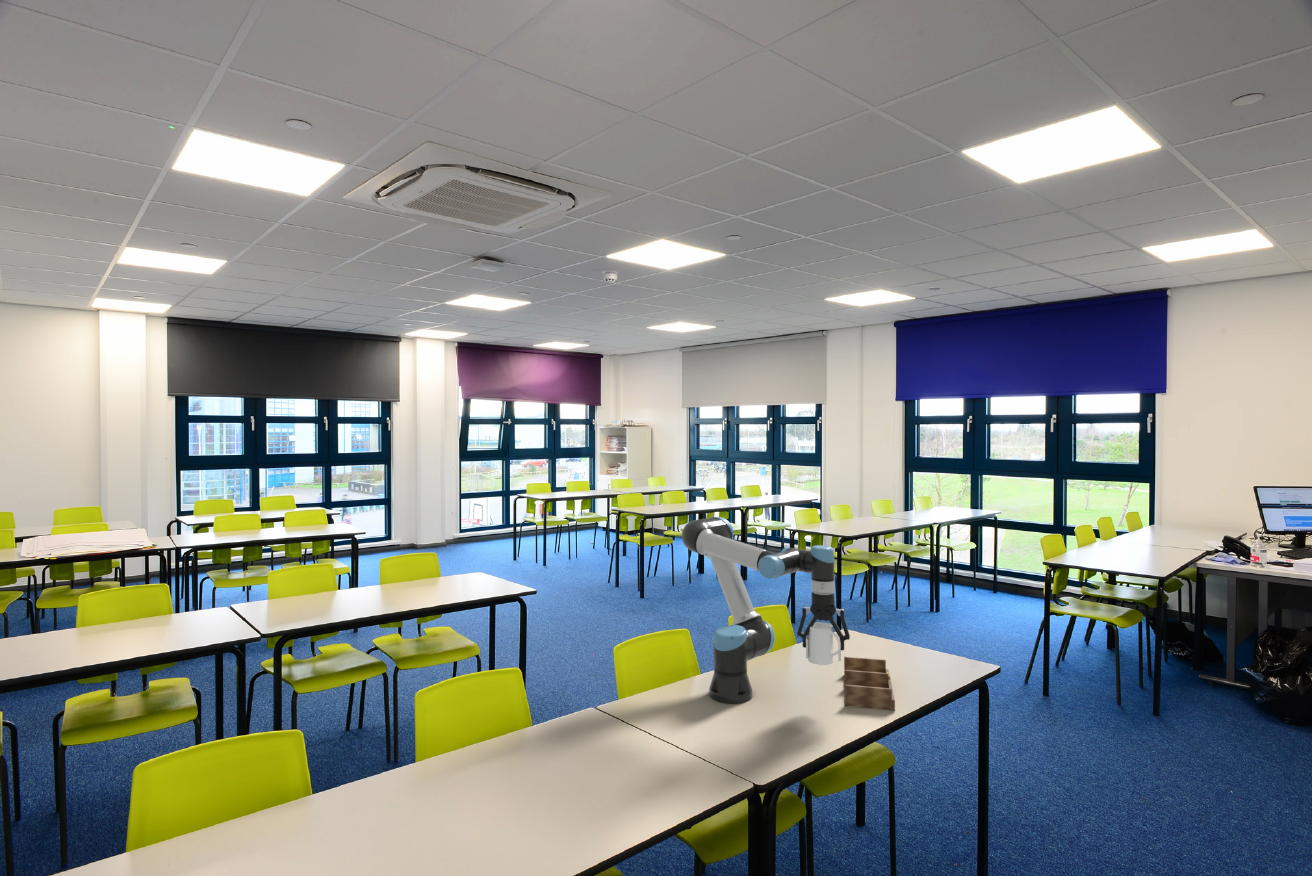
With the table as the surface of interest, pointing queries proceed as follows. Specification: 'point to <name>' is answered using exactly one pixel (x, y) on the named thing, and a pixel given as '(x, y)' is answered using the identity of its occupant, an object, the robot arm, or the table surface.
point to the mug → (822, 644)
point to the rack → (868, 684)
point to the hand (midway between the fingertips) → (823, 658)
